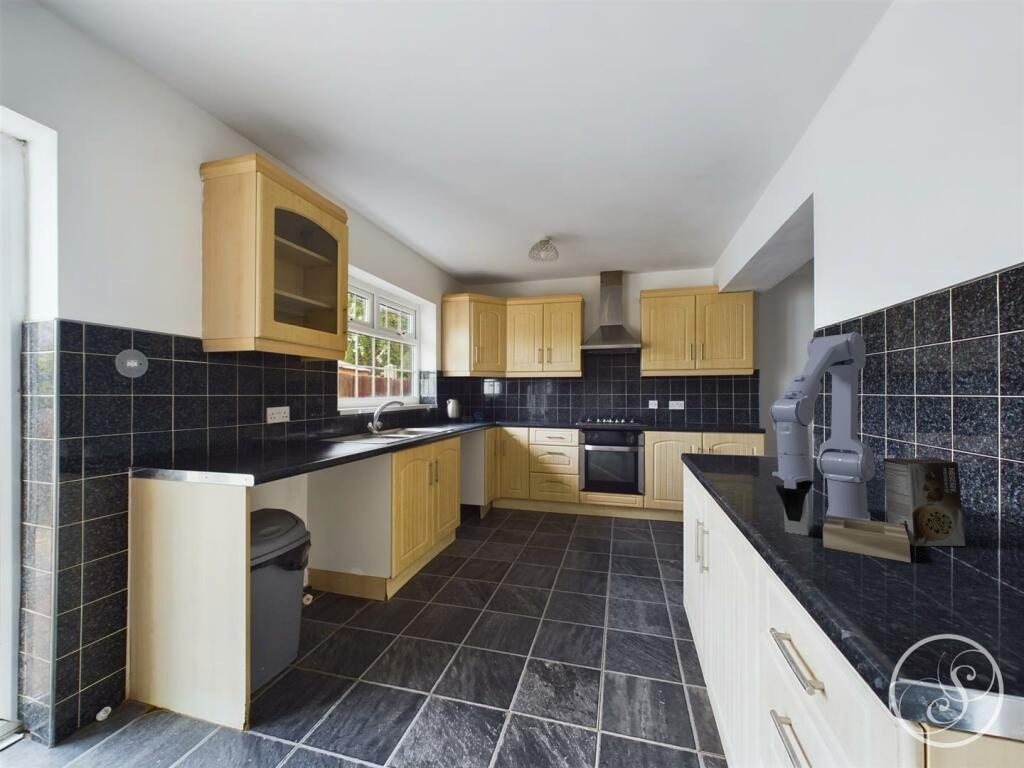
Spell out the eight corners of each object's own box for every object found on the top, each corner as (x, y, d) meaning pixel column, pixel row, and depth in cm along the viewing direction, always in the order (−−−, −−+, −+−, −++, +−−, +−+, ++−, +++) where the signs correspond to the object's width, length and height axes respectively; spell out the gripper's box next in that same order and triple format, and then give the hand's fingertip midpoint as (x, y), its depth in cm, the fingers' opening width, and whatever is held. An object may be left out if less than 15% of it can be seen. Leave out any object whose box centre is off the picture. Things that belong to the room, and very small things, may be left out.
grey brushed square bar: (787, 527, 90) (785, 487, 90) (809, 531, 87) (807, 489, 88) (784, 532, 87) (782, 490, 87) (807, 536, 84) (805, 492, 85)
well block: (827, 531, 87) (826, 514, 87) (905, 543, 79) (904, 525, 79) (823, 547, 78) (822, 528, 78) (910, 562, 70) (909, 542, 70)
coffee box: (934, 535, 83) (929, 457, 83) (966, 547, 76) (960, 461, 77) (886, 535, 84) (881, 457, 84) (914, 546, 77) (908, 462, 78)
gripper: (776, 449, 96) (779, 506, 95) (765, 456, 85) (768, 521, 84) (813, 451, 91) (817, 511, 91) (806, 458, 80) (810, 527, 80)
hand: (796, 516), depth 87 cm, fingers open, 7 cm apart
